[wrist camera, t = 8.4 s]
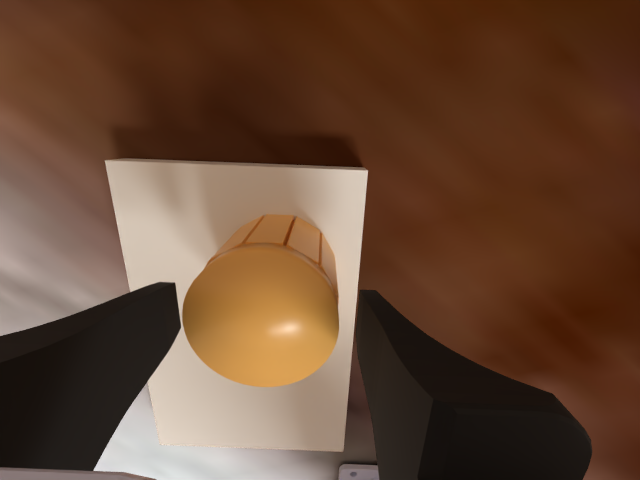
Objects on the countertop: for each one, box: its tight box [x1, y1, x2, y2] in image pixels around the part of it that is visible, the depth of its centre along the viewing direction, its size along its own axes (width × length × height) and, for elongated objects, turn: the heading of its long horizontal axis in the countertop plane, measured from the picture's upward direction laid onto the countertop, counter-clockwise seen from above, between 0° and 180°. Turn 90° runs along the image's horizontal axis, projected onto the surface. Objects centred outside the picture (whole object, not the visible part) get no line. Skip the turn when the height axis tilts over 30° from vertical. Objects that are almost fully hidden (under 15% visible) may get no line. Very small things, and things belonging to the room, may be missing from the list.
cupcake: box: [182, 214, 339, 387], centre depth 13 cm, size 6×6×5 cm
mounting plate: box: [105, 158, 368, 452], centre depth 15 cm, size 12×18×5 cm, turn 178°
